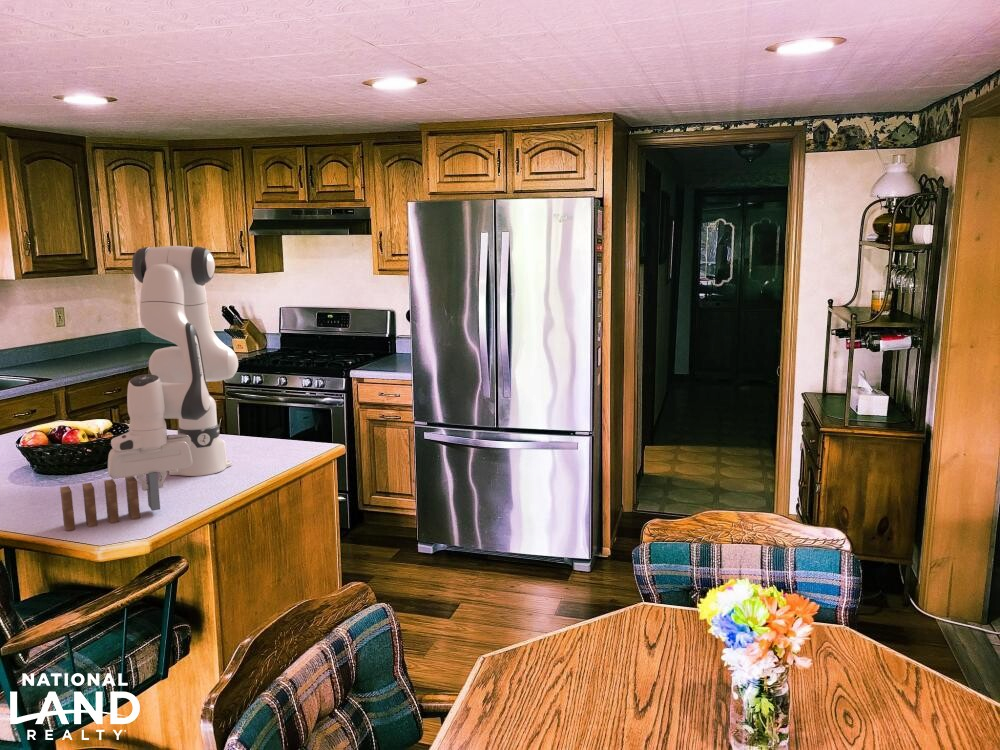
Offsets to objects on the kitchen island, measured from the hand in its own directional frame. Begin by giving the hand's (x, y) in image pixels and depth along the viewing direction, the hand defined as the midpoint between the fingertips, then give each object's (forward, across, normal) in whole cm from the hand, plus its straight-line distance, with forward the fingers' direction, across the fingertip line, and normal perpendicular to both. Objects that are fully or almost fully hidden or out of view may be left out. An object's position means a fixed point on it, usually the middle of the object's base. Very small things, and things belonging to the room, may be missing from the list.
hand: (152, 488), depth 210 cm
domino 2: (+6, +15, 0) cm, 16 cm away
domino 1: (+6, +20, 0) cm, 21 cm away
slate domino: (+5, 0, 0) cm, 5 cm away
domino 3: (+6, +10, 0) cm, 12 cm away
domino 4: (+6, +5, 0) cm, 8 cm away
